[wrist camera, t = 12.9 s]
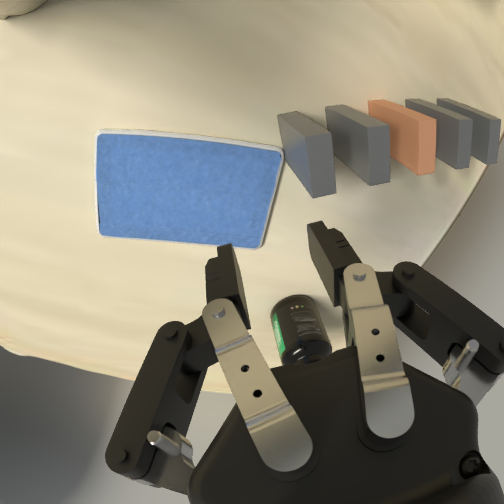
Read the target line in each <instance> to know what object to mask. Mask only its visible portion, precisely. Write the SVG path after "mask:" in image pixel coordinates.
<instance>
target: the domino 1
mask: <svg viewBox="0 0 504 504" xmlns="http://www.w3.org/2000/svg"><path fill="white" fill-rule="evenodd" d="M277 118H278V123H279V128H280V134H281V140H282V145H283V151H284V157H285V161H286V162H287V164H288V165H289V166H290V168H291V169H292V171H293V172H294V173H295V175H296V176H297V177H298V179H299V180H300V181H301V183H302V184H303V186H304V187H305V188H306V190H307V191H308V193H309V194H310V195H311V197H312V198H317V197H322V196H326V195H331V194H335V193H336V180H335V167H334V156H333V146H332V136H331V132H329V131H328V130H326V129H325V128H323V127H321V126H320V125H318V124H317V123H315V122H314V121H312V120H310V119H309V118H307V117H305V116H304V115H302V114H300V113H299V112H297V111H295V112H289V113H284V114H278V115H277Z"/></svg>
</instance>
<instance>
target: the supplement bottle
mask: <svg viewBox="0 0 504 504" xmlns="http://www.w3.org/2000/svg"><path fill="white" fill-rule="evenodd" d="M270 317H271V323H272V327H273V331H274V335H275V339H276V343H277V347H278V351H279V355H280V359H281V362H282V365H295V364H312V363H315V362H317V361H319V360H321V359H323V358H324V357H326V356H328V355H330V354H331V353H332V346H331V343H330V340H329V338H328V335H327V333H326V330H325V328H324V325H323V323H322V320H321V317H320V315H319V312H318V310H317V308H316V305H315V303H314V302H313V301H312V300H311V299H310V298H308V297H306V296H302V295H295V296H290V297H287V298H284V299H282V300H281V301H279V302H278V303H277V304H276V305H275V306H274V307H273V309H272V311H271V315H270Z"/></svg>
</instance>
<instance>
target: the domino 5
mask: <svg viewBox="0 0 504 504" xmlns="http://www.w3.org/2000/svg"><path fill="white" fill-rule="evenodd" d="M437 105H438V106H441V107H443V108H446V109H448V110H451V111H454V112H456V113H459V114H461V115H463V116H466V117H468V118H471V119H473V125H472V142H471V154H470V155H471V156H473V157H475V158H476V159H478V160H480V161H481V162H483V163H484V164H486V165H487V164H494V163H497V156H498V148H499V138H500V126H501V119H499V118H497V117H494V116H492V115H490V114H487V113H485V112H483V111H480V110H478V109H475V108H473V107H470V106H467V105H465V104H462V103H459V102H457V101H454V100H451V99H437Z"/></svg>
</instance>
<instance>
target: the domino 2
mask: <svg viewBox="0 0 504 504" xmlns="http://www.w3.org/2000/svg"><path fill="white" fill-rule="evenodd" d="M325 111H326V119H327V127H328V131H329V132H331V136H332V146H333V154H334V155H335V156H336V157H337V158H338V159H339V160H341V161H342V162H343V163H344V164H345V165H346V166H348V167H349V168H350V169H351V170H352V171H353V172H354V173H356V174H357V175H358V176H359V177H360V178H361V179H362V180H363V181H365V182H366V183H367V184H368V185H369V186H373V185H378V184H383V183H388V182H390V127H389V124H386V123H384V122H382V121H380V120H378V119H376V118H373V117H371V116H369V115H367V114H364V113H362V112H360V111H357V110H355V109H353V108H350V107H348V106H345V105H335V106H327V107H325Z"/></svg>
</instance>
